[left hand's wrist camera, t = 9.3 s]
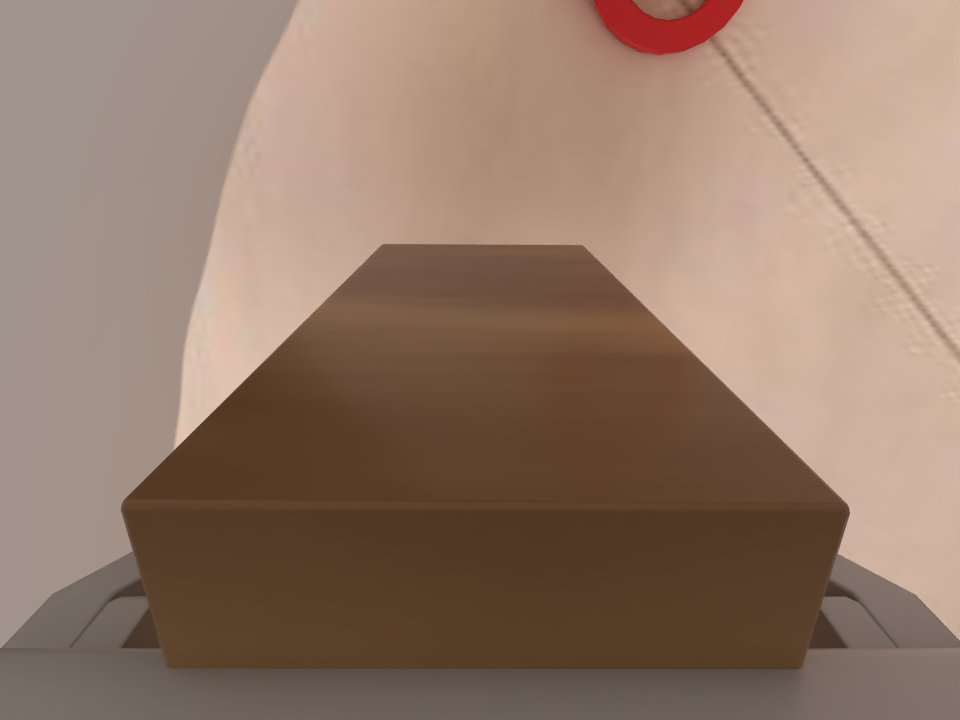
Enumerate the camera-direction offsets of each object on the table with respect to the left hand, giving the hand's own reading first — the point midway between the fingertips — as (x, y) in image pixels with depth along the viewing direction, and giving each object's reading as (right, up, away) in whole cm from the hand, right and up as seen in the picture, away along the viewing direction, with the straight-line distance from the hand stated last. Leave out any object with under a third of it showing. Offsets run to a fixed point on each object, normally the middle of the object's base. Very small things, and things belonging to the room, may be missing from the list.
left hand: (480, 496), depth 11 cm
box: (0, -6, +11) cm, 12 cm away
